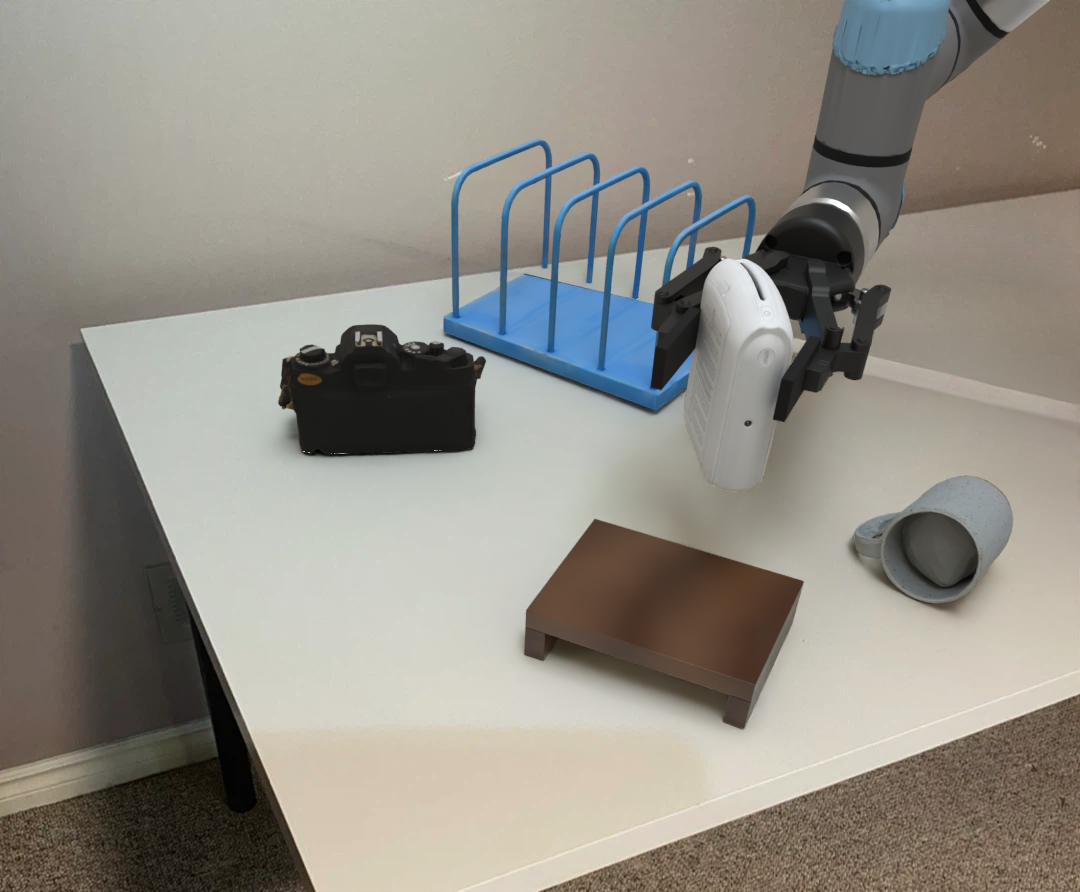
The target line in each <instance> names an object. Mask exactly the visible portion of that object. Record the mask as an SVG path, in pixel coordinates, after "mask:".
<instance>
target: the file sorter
mask: <svg viewBox="0 0 1080 892" xmlns="http://www.w3.org/2000/svg"><path fill="white" fill-rule="evenodd" d="M538 146H540V147H541V148H542V149H543V152H544V154H545V169H544V170H541V171H540V172H537V173H535V174H533V175H531V176H528V177H526V178H524V179H522V180H520V181H518V182H517V183H516V184H515V185H514V186H513V187H512V188H511V189H510V191H509V192H508V194H507V196H506V198H505V201H504V204H503V208H502V212H501V223H500V224H501V225H500V258H499V259H500V261H499V262H500V265H499V269H500V271H499V275H500V276H499V286H498V287H496V288H494V289H492V290H491V291H489V292H487V293H485V294H483V295H482V296H481V295H480V296H479V297H478V298H475V299H474V300H472V301H470V302H467V303H466V304H464V305H462V306H461V307H460V269H459V268H460V267H459V266H460V264H459V262H460V259H459V258H460V257H459V256H460V255H459V200H460V193H461V190H462V187H463V185H464V183H465V181H466V180H467V178H468V177H469V176H470V175H472V174H473V173H476V172H478V171H480V170H482V169H485V168H487V167H489V166H491V165H494V164H496V163H498V162H502V161H504V160H506V159H508V158H511V157H513V156H515V155H518V154H521V153H523V152H525V151H528V150H530V149H533V148H535V147H538ZM586 160H590V162H591V164H592V169H593V182H592V183H593V184H592V186H590V187H588V188H586V189H584V190H582V191H580V192H577V193H576V194H574V195H572V196H570V197H569V198H567V200H566V201H565V202H564V204H562V206H561V208H560V210H559V212H558V214H557V217H556V219H555V223H554V228H553V235H552V249H551V250H552V251H551V272H550V279H549V278H546V277H541V276H538V275H534V274H528V273H522V274H521V275H519V276H517V277H515V278H513V279H512V280H509V281H508V255H509V254H508V253H509V252H508V250H509V248H508V246H509V244H508V243H509V222H510V221H509V220H510V213H511V208H512V205H513V203H514V200H515V198H516V197H517V195H519V193H521V191H522V190H524V189H525V188H528V187H530V186H531V185H535V184H536V183H538V182H541V181H543V180H545V182H544V187H545V188H544V205H543V206H544V207H543V230H542V252H541V253H542V256H541V257H542V258H541V268H542V269H544V270H545V269H546V270H547V269H548V265H549V248H550V225H551V202H552V176H553V175H556V174H558V173H560V172H562V171H565V170H567V169H568V168H571V167H573V166H575V165H577V164H580V163H582V162H585V161H586ZM637 174H640V175H641V177H642V183H643V184H642V186H643V188H642V199H641V204H640V205H639V206H637V207H635V208H634V209H631V210H630V211H628V212H627V213H625V214H624V215H623V216H621V218H620V220H619V221H618V222H617V223H616V225H615V227H614V229H613V232H612V233H611V237H610V239H609V243H608V247H607V254H606V263H605V274H604V286H603V291H600V290H596V289H592V288H588V287H583V286H580V285H575V284H572V283H571V284H570V283H566V282H562V281H559V265H560V254H561V253H560V251H561V237H562V228H563V224H564V221H565V219H566V216H567V214H568V213H569V212H570V210H571V208H572V207H574V206H575V205H576V204H578V203H580V202H582V201H584V200H586V199H588V198H590V197H592V198H591V211H590V223H589V225H590V226H589V237H588V251H587V252H588V253H587V267H586V280H585V283H586V284H592V283H593V273H594V263H595V262H594V261H595V248H596V237H597V225H598V224H597V222H598V210H599V196H600V192H602V191H603V190H606V189H607V188H610V187H612V186H614V185H616V184H619V183H620V182H622V181H625V180H627V179H628V178H631V177H633V176H635V175H637ZM689 189H692V190H693V192H694V208H693V215H692V223H691V225H689V226H687V227H686V228H684V229H683V230H681V231H680V232H679V234H677V236H676V237H675V238H674V241H673V242H672V244H671V246H670V247H669V251H668V252H667V255H666V260H665V264H664V268H663V269H664V270H663V276H662V282H661V287H662V286H664V285H665V284H666V283H668V282H669V281H671V276H672V271H673V270H672V269H673V265H674V261H675V257H676V255H677V253H678V250H679V248H680V246H681V245H682V243H683V242H685V240H686V239H687V238H688V237H689V241H688V242H689V244H688V251H687V259H686V267H685V270H686V269H688V268H689V267H690V266H692V265H693V264H694V263H695V254H696V247H697V240H698V234H699V230H701V229H702V228H704V227H706V226H708V225H710V224H711V223H713V222H715V220H718V219H720V218H721V217H723V216H724V215H726V214H728V213H730V212H731V211H733V210H735V209H737V208H739V207H741V206H742V205H744V204H747V207H748V217H747V223H746V224H747V226H746V230H745V231H746V232H745V238H744V242H743V248H742V249H743V250H742V255H741V259H742V258H743V257H745V256H746V255H750V254H751V246H752V241H753V235H754V229H755V222H756V213H757V208H756V207H757V205H756V201H755V199H754V198H753V196H751V195H746V194H745V195H741V196H740V197H738V198H736V199H734V200H732V201H730V202H729V203H726V204H725V205H724V206H721V207H719V208H718V209H716V210H714V211H713V212H711V213H709V214H707V215H706V216H704V217H703V218H701V213H702V201H703V193H702V188H701V185H700V183H699V182H697V181H696V180H692V179H689V180H687V181H684V182H683V183H680V184H679V185H677V186H675V187H672V188H671V189H669V190H667V191H665V192H663V193H661V194H659V195H657V196H656V197H654V198H651V199H650V194H651V179H650V174H649V171H648V170H647V168H646V167H645V166H641V165H635V166H632V167H630V168H628V169H626V170H624V171H622V172H619V173H617V174H615V175H613V176H611V177H608V178H607V179H605V180H603V181H601V166H600V161H599V159H598V157H597V155H596V154H595V153H592V152H589V151H587V152H586V151H585V152H583V153H580V154H577V155H575V156H573V157H571V158H568V159H566V160H564V161H561V162H558V163H557V164H554V165H553V155H552V149H551V147H550V145H549V143H548V142H547V141H546V140H545V139H542V138H534V139H532V140H528V141H526V142H524V143H521V144H519V145H516V146H513V147H511V148H509V149H505V150H503V151H500V152H499V153H496V154H494V155H491V156H489V157H487V158H484V159H481V160H480V161H478V162H475V163H472V164H470V165H468V166H466V167H465V168H464V169H463V170H462V171H461V172H460V173H459V175H458V177H457V179H456V180H455V182H454V186H453V189H452V193H451V202H450V206H451V207H450V215H451V216H450V218H451V220H450V221H451V222H450V225H451V227H450V229H451V236H450V238H451V239H450V240H451V303H452V305H451V306H452V312H449V313H448V314H446V315H444V316H443V321H442V322H443V327H442V328H443V330H442V331H443V332H444V333H445V334H448V335H450V336H453V337H456V338H458V339H461V340H463V341H467V342H469V343H472V344H475V345H477V346H479V347H482V348H486V349H488V350H490V351H494V352H496V353H499V354H502V355H504V356H507V357H510V358H513V359H515V360H518V361H521V362H523V363H526V364H528V365H532V366H534V367H537V368H540V369H542V370H545V371H547V372H550V373H553V374H555V375H558V376H561V377H564V378H567V379H570V380H573V381H575V382H577V383H580V384H582V385H586V386H588V387H591V388H594V389H596V390H599V391H602V392H605V393H607V394H610V395H612V396H616V397H619V398H621V399H624V400H626V401H629V402H632V403H634V404H637V405H640V406H642V407H645V408H648V409H651V410H654V411H658V410H660V409H661V408H662V407H663V406H664V405H666V404H667V403H668V402H670V401H671V400H672V399H673V398H675V397H676V396H677V395H679V394H680V393H681V392H682V391H684V390H685V389H687V384H688V378H689V372H690V366H691V360H692V354H693V352H692V353H691V354H690V356H689V357H688V358H687V359H686V361H685V362H684V363H683V364H682V366H681V367H680V368H679V369H678V370H677V372H676V373H675V374H674V375H673V377H672V378H671V379H670V380H669V382H668V383H667V384H666V385H665V386H664V388H663V389H662V390H659V389H655V388H651V387H650V386H651V378H652V370H653V362H654V354H655V347H656V346H657V338H658V331H655V330H653V329H652V328H651V321H652V313H653V305H654V303H653V302H652V303H651V302H647V301H644V300H643V301H642V300H639V299H638V298H639V294H640V293H639V292H640V285H641V276H642V267H643V258H644V250H645V249H644V248H645V240H646V230H647V223H648V222H647V221H648V212H649V211H650V210H652V209H653V208H655V207H657V206H660V205H661V204H663V203H664V202H666V201H668V200H670V199H672V198H674V197H676V196H677V195H680V194H681V193H683V192H685V191H687V190H689ZM638 217H640V219H639V220H640V221H639V222H640V223H639V226H638V227H639V229H638V235H637V248H636V256H635V267H634V276H633V277H634V278H633V286H632V295H631V298H630V297H626V296H623V295H622V296H621V295H617V294H613V293H612V283H613V274H614V273H613V272H614V264H615V263H614V262H615V253H616V247H617V244H618V240H619V238H620V235H621V233H622V231H623V230H624V228H625V227H626V225H627V224H628V223H629V222H630V221H632V220H635V219H636V218H638Z"/></svg>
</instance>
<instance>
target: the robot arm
mask: <svg viewBox="0 0 1080 892" xmlns="http://www.w3.org/2000/svg"><path fill="white" fill-rule="evenodd" d="M1050 1H1051V0H843V4H842V7H841V11H840V15H839V18H838V21H837V24H836V26H835V28H834V31H833V34H832V45H831V46H832V50H831V55H830V60H829V63H828V64H829V65H828V70H827V75H826V80H825V84H824V90H823V94H822V95H823V96H822V100H821V105H820V109H819V110H820V111H819V116H818V121H817V125H816V130H815V135H814V140H813V144H812V148H811V153H810V158H809V163H808V167H807V171H806V177H805V181H804V186H803V189H802V192H801V194H800V195H799V196H798V197H797V198H796V199H795V200H794V201H793V202H792V204H791V205H790V206H789V207H788V208H787V209H786V211H785V212H784V213H783V214H782V215H781V217H780V218H779V219H778V221H777V222H776V223H775V224H774V225H773V226H772V228H771V229H770V230H769V231H768V232H767V233H766V234H765V235H764V237H763V238H762V240H761V241H760V243H759V244H758V247H757V248H756V250H755V252H752V253H749V255H746V256H745V257H743V258H742V257H741V259H747V260H749V261H751V262H753V263H755V264H757V265H758V266H760V267H761V268H762V269H763V270H764V271H765V272H766V273H767V274H768V276H769V277H770V278H771V279H772V281H773V282H774V284H775V286H776V287H777V289H778V291H779V293H780V295H781V297H782V299H783V302H784V304H785V307H786V310H787V313H788V316H789V319H790V321H791V320H792V321H797V322H798V325H799V329H800V334H802V335H804V336H805V342H804V343H803V345H802V347H801V348H800V350H799V351H798V353H797V354H796V356H795V358H794V359H792V361H791V365H790V366H789V368H788V370H787V371H786V373H785V374H784V376H783V377H782V379H781V383H780V388H779V392H778V397H777V402H776V406H775V411H774V415H773V420H776V421H777V422H781V423H785V422H786V421H787V419H788V418H789V416H790V414H791V413H792V411H793V409H794V408H795V406H796V405H797V403H798V401H800V400H799V399H800V398H801V396H802V395H803V393H804V392H805V391H807V392H811V393H814V394H818V393H820V392H821V391H822V390H823V388H824V387H825V385H826V383H827V381H828V380H829V378H831V377H833V375H834V373H843V377H844V378H846V379H847V380H851V381H859V380H862V378H863V375H864V372H865V369H866V365H867V361H868V357H869V353H870V350H871V347H872V342H873V339H874V333H875V330H876V329H878V328H879V327H880V326H881V325H883V322H884V317H885V314H886V310H887V307H888V303H889V299H890V296H891V293H892V287H890V286H887V285H886V284H875V285H873V286H872V287H871V288H867V287H862V288H861V289H859V288H856V284H857V283H858V282H859V279H860V278H861V276H862V274H863V273H864V272H865V270H866V268H867V267H868V265H869V264H870V262H871V260H872V259H873V258H874V255H875V254H876V252H877V251H878V249H879V248H880V247H881V245H882V243H883V242H884V241H885V240H886V238H888V236H889V235H890V232H891V231H892V230H893V229H894V228H895V227H896V225H897V223H898V220H899V217H900V215H901V211H902V208H903V204H904V201H905V197H906V180H905V178H906V175H907V170H908V167H909V164H910V159H911V156H912V152H913V147H914V143H915V139H916V135H917V131H918V128H919V124H920V121H921V118H922V114H923V112H924V111H923V110H924V107H925V104H926V102H927V101H928V100H929V99H930V98H931V97H933V96H934V95H936V94H937V93H938V92H939V91H940V90H941V89H942V88H943V87H945V86H946V85H947V84H948V83H950V82H951V81H953V80H955V78H957V77H958V76H960V75H961V74H963V73H964V72H965V71H966V70H967V69H968V68H969V67H970V66H972V64H974V63H975V62H976V61H977V60H978V59H980V58H981V57H982V56H984V54H986V53H987V52H988V51H990V50H991V49H992V48H993V47H994V46H996V45H997V44H998V43H1000V42H1001V41H1002V40H1003V39H1005V37H1006V36H1007V35H1009V34H1010V33H1011V32H1012V31H1014V30H1015V29H1016V28H1018V27H1019V26H1020V25H1021V24H1022V23H1023V22H1025V21H1026V20H1028V19H1029V18H1030V17H1031V16H1033V15H1034V14H1035V13H1036V12H1037V11H1039V10H1040V9H1041V8H1042V7H1044V6H1045V5H1046V4H1048V3H1049V2H1050ZM722 252H723V251H722V249H721V248H719V247H717V246H707V247H705V248H704V251H703V253H702V258H700V259H699V260H697V261H696V262H694V263H693V265H692V266H690V267H689V268H688V269H686V268H685V270H683V271H682V272H680V273H679V274H677V275H676V276H675V277H673V278H672V279H670V281H669V282H668V283H666V284H665V285H664V286H662V285H661V287H659V288H658V289H656V290H655V291H654V296H653V304H654V305H653V313H652V321H651V328H652V329H653V330H655V331H658V338H657V346H656V347H655V354H654V362H653V370H652V378H651V386H650V387H651V388H655V389H659V390H662V389H663V388H664V386H665V385H666V384H667V383H668V382H669V380H670V379H671V378H672V377H673V375H674V374H675V373H676V372H677V370H678V369H679V368H680V367H681V366H682V364H683V363H684V362H685V361H686V359H687V358H688V357H689V356H690V354H691V353H692V352H693V351H694V349H695V348H696V341H697V335H698V328H699V322H700V315H701V309H700V306H701V299H702V293H703V288H704V284H705V280H706V278H707V276H708V274H709V273H710V271H711V270H712V269H713V268H714V267H715V265H717V264H718V263H719V262H721V261H722V260H724V259H726V258H728V257H727V256H726V255H722ZM848 308H850V309H851V310H850V313H851V314H852V315H853V320H852V324H854V327H853V332H852V334H851V339H850V342H844V341H843V342H842V339H843V335H844V332H845V326H844V327H842V328H841V327H840V326H839V325H838V321H837V318H836V315H835V313H838V312H841V311H844V310H847V309H848Z"/></svg>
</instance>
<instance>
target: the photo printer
mask: <svg viewBox="0 0 1080 892" xmlns="http://www.w3.org/2000/svg"><path fill="white" fill-rule="evenodd" d="M700 309H701V315H700V322H699V328H698V335H697V341H696V348H695V349H694V351H693V354H692V360H691V366H690V372H689V378H688V384H687V387H686V390H685V397H684V403H683V404H684V405H683V419H684V423H685V427H686V431H687V434H688V437H689V440H690V443H691V445H692V448H693V451H694V453H695V456H696V459H697V461H698V465H699V466H700V470H701V471H702V473H703V476H704V477H705V479H706V481H707V482H708V483H709V485H714V486H715V488H717V489H718V490H722V491H727V492H745V491H748V490H752V489H753V488H754V487H755V486H756V485H758V484H759V485H760V484H761V483H762V481H763V478H764V475H765V473H766V469H767V465H768V461H769V457H770V453H771V449H772V444H773V442H774V436H775V432H776V427H777V425H778V421H776V420H773V415H774V411H775V406H776V402H777V397H778V392H779V388H780V383H781V379H782V377H783V376H784V374H785V373H786V371H787V370H788V368H789V366H790V365H791V363H792V361H793V355H794V334H793V333H794V331H793V327H792V324H791V319H789V316H788V313H787V310H786V307H785V304H784V302H783V299H782V297H781V295H780V293H779V291H778V289H777V287H776V286H775V284H774V282H773V281H772V279H771V278H770V277H769V276H768V274H767V273H766V272H765V271H764V270H763V269H762V268H761V267H760V266H758V265H757V264H755V263H753V262H751V261H749V260H747V259H742V258H739V259H732V258H728V257H727V258H726V259H724V260H722V261H721V262H719V263H718V264H717V265H715V267H714V268H713V269H712V270H711V271H710V273H709V274H708V276H707V278H706V280H705V284H704V288H703V293H702V299H701V306H700Z"/></svg>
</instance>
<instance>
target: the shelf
mask: <svg viewBox="0 0 1080 892" xmlns="http://www.w3.org/2000/svg"><path fill="white" fill-rule="evenodd" d="M804 584H805V581H804V580H802V579H799V578H795V577H792V576H789V575H786V574H782V573H778V572H775V571H772V570H769V569H765V568H761V567H759V566H755V565H752V564H748V563H745V562H743V561H742V562H741V561H739V560H735V559H732V558H728V557H725V556H721V555H718V554H715V553H712V552H708V551H704V550H702V549H698V548H695V547H691V546H688V545H685V544H681V543H678V542H674V541H671V540H668V539H664V538H662V537H658V536H655V535H651V534H648V533H644V532H642V531H638V530H634V529H632V528H628V527H625V526H621V525H618V524H614V523H611V522H608V521H604V520H600V519H599V518H594V519H593V520H592V521H591V523H590V524H589V526H587V528H586V530H585V531H584V532H583V534H582V535H581V536H580V537H579V539H578V540H577V542H576V543H574V546H572V548H571V550H570V551H569V552H568V553H567V555H566V556H565V557H564V559H563V560H562V562H561V563H560V564H559V565H558V566H557V568H556V570H555V571H554V572H553V574H551V576H550V577H549V579H548V580H547V582H546V583H545V584H544V585H543V587H542V588H541V590H540V591H539V592H538V594H536V596H535V597H534V599H533V600H532V601H531V602H530V604H529V605H528V607H527V608H526V609H525V625H524V649H523V654H524V655H526V656H528V657H531V658H534V659H536V660H540V661H543V662H544V660H545V659H546V658H547V656H548V655H549V654H550V652H551V651H552V649H553V648H554V646H555V645H556V644H557V642H558V640H559V639H560V640H564V641H567V642H569V643H572V644H576V645H579V646H582V647H585V648H587V649H590V650H594V651H597V652H598V653H599V652H600V653H603V654H606V655H607V656H608V655H609V656H612V657H614V658H618V659H621V660H623V661H627V662H629V663H632V664H635V665H639V666H641V667H643V668H644V667H645V668H648V669H651V670H653V671H657V672H659V673H663V674H666V675H668V676H672V677H674V678H677V679H679V680H680V679H681V680H683V681H687V682H688V683H689V682H690V683H692V684H696V685H698V686H702V687H704V688H707V689H710V690H713V691H716V692H719V693H722V694H725V695H728V697H727V701H726V704H725V705H726V706H725V709H724V715H723V718H722V723H724V724H728V725H730V726H733V727H736V728H740V729H742V730H744V729H746V726H747V724H748V722H749V720H750V718H751V715H752V713H753V711H754V708H755V707H756V705H757V702H758V700H759V698H760V697H761V696H760V695H761V694H762V691H763V689H764V687H765V685H766V683H767V681H768V678H769V676H770V673H771V672H772V669H773V667H774V665H775V663H776V661H777V658H778V657H779V654H780V652H781V650H782V647H783V645H784V643H785V641H786V639H787V637H788V635H789V632H790V630H791V628H792V626H793V623H794V620H795V615H796V613H797V609H798V605H799V601H800V598H801V595H802V591H803V587H804Z"/></svg>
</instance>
